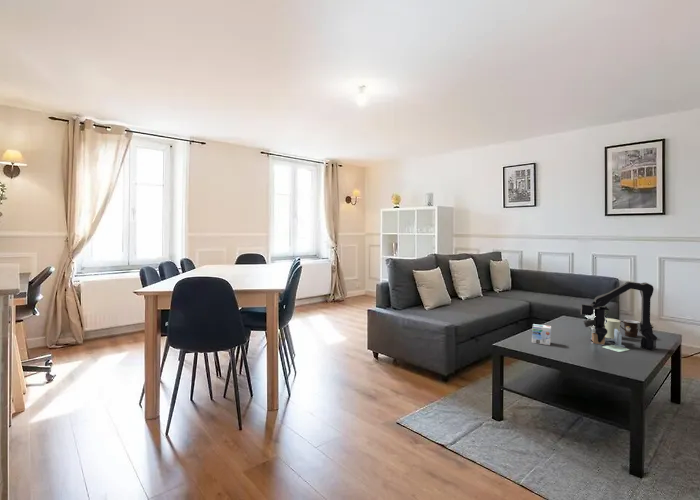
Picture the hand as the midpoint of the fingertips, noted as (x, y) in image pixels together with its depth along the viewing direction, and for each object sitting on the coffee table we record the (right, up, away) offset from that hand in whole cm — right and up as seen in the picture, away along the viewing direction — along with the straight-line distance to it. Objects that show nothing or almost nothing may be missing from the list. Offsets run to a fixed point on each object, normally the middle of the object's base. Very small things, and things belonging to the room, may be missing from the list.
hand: (598, 340), depth 243 cm
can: (+17, -1, +13) cm, 21 cm away
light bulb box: (-37, -1, -1) cm, 37 cm away
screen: (+10, -2, -3) cm, 11 cm away
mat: (+3, -2, -12) cm, 12 cm away
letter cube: (0, -2, 0) cm, 2 cm away
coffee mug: (+32, -1, +16) cm, 36 cm away
